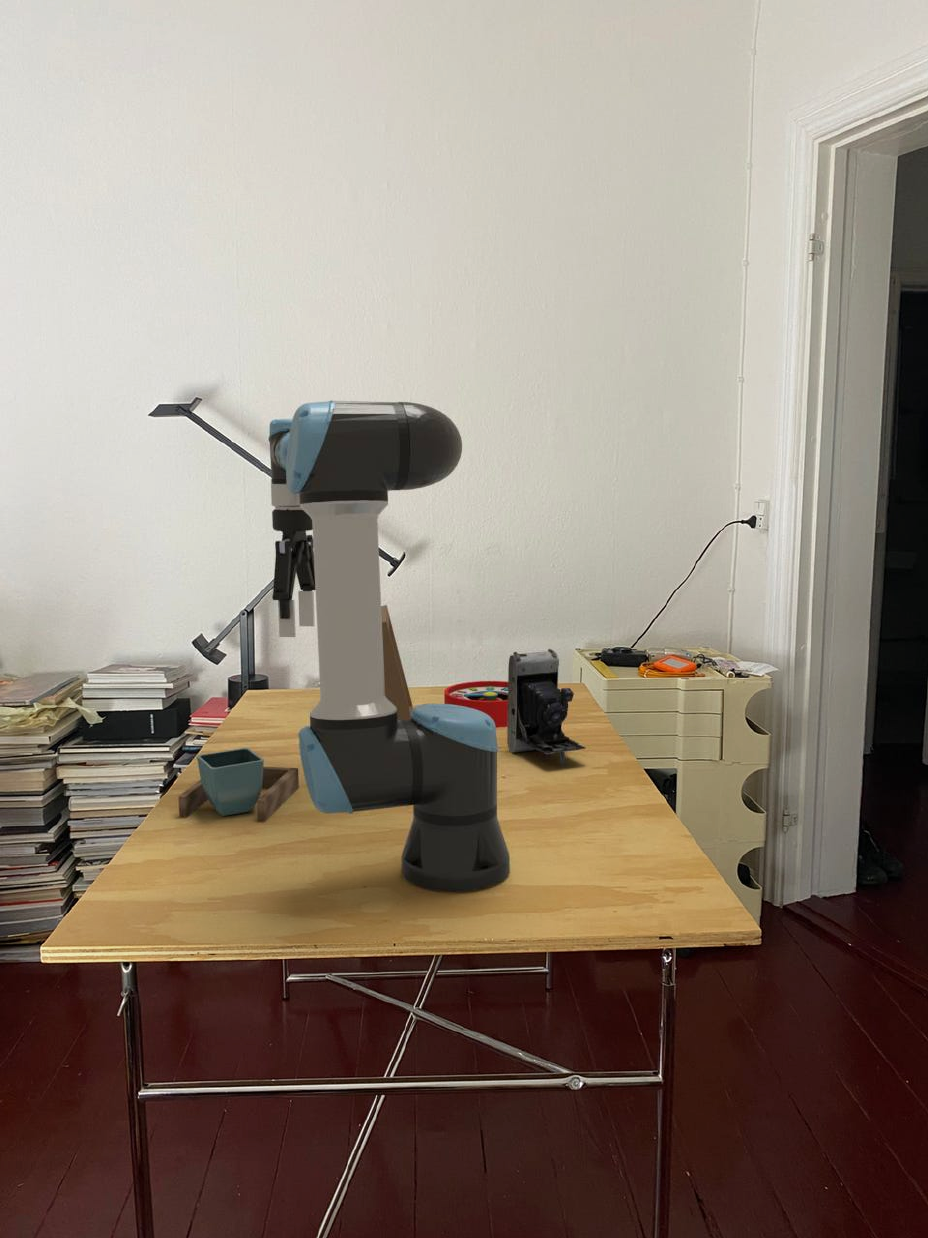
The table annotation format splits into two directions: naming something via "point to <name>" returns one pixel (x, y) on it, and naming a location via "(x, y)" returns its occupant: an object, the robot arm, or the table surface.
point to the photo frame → (394, 670)
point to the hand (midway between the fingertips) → (297, 631)
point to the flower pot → (231, 779)
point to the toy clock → (481, 698)
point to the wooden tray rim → (280, 789)
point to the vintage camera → (537, 705)
